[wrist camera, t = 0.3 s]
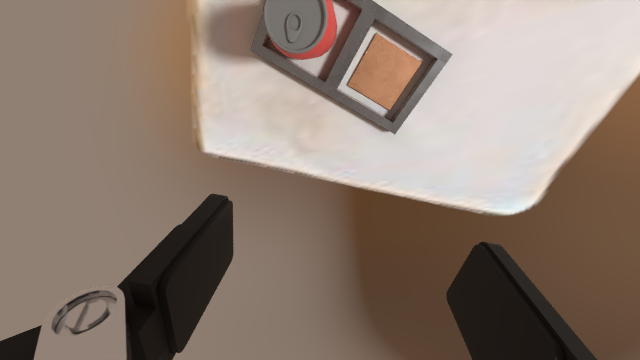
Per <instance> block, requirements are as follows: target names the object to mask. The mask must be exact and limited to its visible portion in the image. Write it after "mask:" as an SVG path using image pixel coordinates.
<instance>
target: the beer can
mask: <svg viewBox="0 0 640 360" xmlns="http://www.w3.org/2000/svg"><path fill="white" fill-rule="evenodd" d="M263 17H264V24H265V27H266V31H267V33H268V36H269V38H270V39H271V41H272V43H273V44H274V46H275V47H276V48H277V49H278V50H279V51H280V52H281V53H282V54H284V55H286V56H288V57H290V58H292V59H301V60H304V59H311V58H316V57H319V56H322V55H323V54H325V53H326V52H328V50H329V49H330V48H331V46H332V45H333V43H334V41H335V38H336V34H337V22H336V17H335V12H334V8H333V4H332V1H331V0H265V3H264V7H263Z"/></svg>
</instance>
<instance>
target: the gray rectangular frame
mask: <svg viewBox="0 0 640 360" xmlns="http://www.w3.org/2000/svg"><path fill="white" fill-rule="evenodd" d="M346 1H347V2H349V3H350V4H352V5H353V6H355V7H356V8H358V9H359V10H361V13H360V15H359V17H358V19H357V21H356V23H355V25H354V27H353V29H352V31H351V33H350V35H349V37H348V39H347V41H346V43H345V44H344V46H343V48H342V50H341V52H340V54H339V56H338V58H337V60H336V62H335V64H334V66H333V68H332V70H331V72H330V74H329V76H328V78H327V80H326V82H325V81H324V80H322V79H320V78H319V77H317V76H315V75H314V74H312V73H310V72H309V71H307V70H305V69H303V68H302V67H300V66H298V65H297V64H295V63H293V62H292V61H290V60H288V59H287V58H285V57H283V56H282V55H280V54H278V53H276V52H275V51H273V50H271V49H270V48H268V47H266V44H267V41H268V38H269V36H268V33H267V31H266V27H265V24H264V17H263V15H262V18H261V21H260V24H259V27H258V30H257V33H256V36H255V39H254V41H253V44H252V47H251V51H253V52H255V53H256V54H258V55H260V56H261V57H263V58H265V59H267V60H268V61H270V62H272V63H273V64H275V65H277V66H279V67H280V68H282V69H284V70H285V71H287V72H289V73H291V74H292V75H294V76H296V77H297V78H299V79H301V80H303V81H304V82H306V83H308V84H309V85H311V86H313V87H315V88H316V89H318V90H320V91H321V92H323V93H325V94H327V95H328V96H330V97H332V98H333V99H335V100H337V101H339V102H340V103H342V104H344V105H345V106H347V107H349V108H351V109H352V110H354V111H356V112H357V113H359V114H361V115H363V116H364V117H366V118H368V119H369V120H371V121H373V122H375V123H376V124H378V125H380V126H382V127H383V128H385V129H387V130H388V131H390V132H392V133H394V134H396V132H397V131H398V129H399V128H400V127H401V125H402V124H403V122H404V121H405V120H406V118H407V117H408V115H409V114H410V113H411V111H412V110H413V109H414V107H415V106H416V104H417V103H418V102H419V100H420V99H421V97H422V96H423V95H424V93H425V92H426V91H427V89H428V88H429V86H430V85H431V84H432V82H433V81H434V79H435V78H436V77H437V75H438V74H439V73H440V71H441V70H442V68H443V67H444V66H445V64H446V63H447V61H448V60H449V59H450V57H451V56H452V55H453V54H451V53H450V52H448V51H447V50H445V49H444V48H442V47H441V46H439V45H438V44H436V43H435V42H433V41H432V40H430V39H429V38H427V37H426V36H424V35H423V34H421V33H420V32H418V31H417V30H415V29H414V28H412V27H411V26H409V25H408V24H406V23H405V22H403V21H402V20H400V19H399V18H398V17H396V16H395V15H393V14H392V13H390V12H389V11H387V10H386V9H384V8H383V7H381V6H380V5H378V4H377V3H375V2H374V1H372V0H346ZM374 20H376V21H378V22H379V23H381V24H382V25H384V26H385V27H387V28H388V29H390V30H391V31H393V32H394V33H396V34H397V35H399V36H400V37H402V38H403V39H405V40H406V41H408V42H409V43H411V44H412V45H414V46H416V47H417V48H419V49H420V50H422V51H423V52H425V53H426V54H428V55H429V56H431V57H432V58H434V59H433V61H432V62H431V64H430V65H429V67H428V68H427V69H426V71H425V72H424V74H423V75H422V77H421V78H420V80H419V81H418V82H417V84H416V85H415V87H414V88H413V90H412V91H411V93H410V94H409V95H408V97H407V98H406V100H405V101H404V103H403V104H402V106H401V107H400V108H399V110H398V111H397V113H396V114H395V116H394V117H393V119H392V120H390V119H388V118H386V117H385V116H383V115H381V114H380V113H378V112H376V111H374V110H373V109H371V108H369V107H368V106H366V105H364V104H363V103H361V102H359V101H358V100H356V99H354V98H352V97H351V96H349V95H347V94H346V93H344V92H342V91H341V90H339V89H337V88H338V86H339V84H340V82H341V80H342V79H343V77H344V75H345V73H346V71H347V69H348V68H349V66H350V64H351V62H352V60H353V58H354V56H355V55H356V53H357V51H358V49H359V47H360V45H361V44H362V42H363V40H364V38H365V36H366V34H367V32H368V31H369V29H370V27H371V25H372V23H373V21H374ZM421 63H422V62H420V61H419V60H417V59H416V58H414V57H413V56H411V55H410V54H408V53H407V52H405V51H403V50H402V49H400V48H399V47H397V46H396V45H394V44H393V43H391V42H390V41H388V40H387V39H385V38H383V37H382V36H380V35H379V34H377V33H376V35H375V37H374V39H373V40H372V42H371V44H370V46H369V48H368V49H367V51H366V53H365V55H364V57H363V58H362V60H361V62H360V64H359V65H358V67H357V69H356V71H355V73H354V74H353V76H352V78H351V80H350V82H349V83H348V86H350V87H352V88H353V89H355V90H357V91H358V92H360V93H362V94H363V95H365V96H367V97H368V98H370V99H372V100H373V101H375V102H377V103H378V104H380V105H382V106H383V107H385V108H387V109H388V110H390V109H391V108H392V106H393V105H394V103H395V102H396V100H397V99H398V97H399V96H400V94H401V93H402V91H403V90H404V88H405V87H406V85H407V84H408V82H409V81H410V79H411V78H412V76H413V75H414V74H415V72H416V71H417V69H418V68H419V66H420V65H421Z"/></svg>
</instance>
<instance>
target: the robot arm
mask: <svg viewBox="0 0 640 360" xmlns="http://www.w3.org/2000/svg"><path fill="white" fill-rule="evenodd" d="M232 258H233V203H232V201H229V200H228V197H227V196H223V195H217V194H210V195H209V196H208V197H207V198H206V199H205V201H203V203H202V204H201V205H200V206H199V207H198V208H197V209H196V210H195V211H194V212H193V213H192V214H191V215H190V216H189V217H188V218H187V219H186V220H185V221H184V222H183V223H182V224H180V225H178V226H176V227H175V228H174V229H173V230H172V231H171V232H170V233H169V234H168V235H167V236H166V237H165V238H164V240H162V241H161V242H160V243H159V245H157V247H156V248H155V249H154V250H153V251H152V252H151V253H150V254H149V255H148V256H147V257H146V258H145V259H144V260H143V261H142V262H141V263H140V264H139V265H138V266H137V267H136V268H135V269H134V270H133V271H132V272H131V273H130V274H129V275H128V276H127V277H126V278H125V279H124V280H123V281H122V282H121V283H120V284H119V285H118V286H117V287H114V286H111V285H100V286H95V287H90V288H87V289H85V290H82V291H79V292H77V293H75V294H73V295H71V296H70V297H68V298H66V299H64V300H63V301H62V302H61V303H59V304H58V305H57V306H56V307H54V309H52V311H51V312H50V313H49V314H48V315H47V316H46V318H45V320H44V322H43V324H42V325H41V326H38V327H36V328H33V329H31V330H28V331H25V332H23V333H20V334H18V335H15V336H13V337H10V338H7V339H5V340H2V341H0V360H172V359H173V357H174V356H175V353H176V352H177V353H180V352H182V350H183V349H184V347H185V346H186V344H187V342H188V341H189V339H190V337H191V335H192V333H193V331H194V329H195V328H196V326H197V324H198V322H199V320H200V318H201V316H202V315H203V312H204V311H205V309H206V307H207V305H208V304H209V302H210V300H211V298H212V296H213V294H214V292H215V291H216V289H217V287H218V285H219V283H220V281H221V280H222V278H223V276H224V274H225V272H226V270H227V268H228V267H229V265H230V263H231V261H232ZM447 301H448V304H449V306H450V308H451V310H452V313H453V315H454V318H455V320H456V322H457V325H458V327H459V329H460V332H461V334H462V336H463V338H464V341H465V343H466V345H467V348H468V350H469V353H470V355H471V357H472V359H473V360H597V359H596V358H595V357H594V355H593V354H592V353H591V352H590V351H589V350H588V348H587V347H586V346H585V345H584V344H583V342H582V341H581V340H580V339H579V338H578V336H577V335H576V334H575V333H574V332H573V331H572V329H571V328H570V327H569V326H568V325H567V323H566V322H565V321H564V320H563V319H562V317H561V316H560V315H559V314H558V313H557V312H556V310H555V309H554V308H553V307H552V305H551V304H550V303H549V302H548V301H547V300H546V298H545V297H544V296H543V295H542V294H541V292H540V291H539V290H538V289H537V288H536V286H535V285H534V284H533V283H532V282H531V281H530V279H529V278H528V277H527V276H526V275H525V273H524V272H523V271H522V270H521V269H520V267H519V266H518V265H517V264H516V263H515V261H514V260H513V259H512V258H511V257H510V255H509V254H508V253H507V252H506V251H505V250H504V249H503V247H502V246H500V245H498V244H493V243H487V242H481V243H479V244H478V245H475V246H474V247H473V249H472V251H471V252H470V254H469V256H468V257H467V259H466V261H465V262H464V264H463V266H462V267H461V269H460V271H459V273H458V274H457V276H456V277H455V279H454V281H453V283H452V284H451V286H450V287H449V289H448V291H447Z"/></svg>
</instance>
